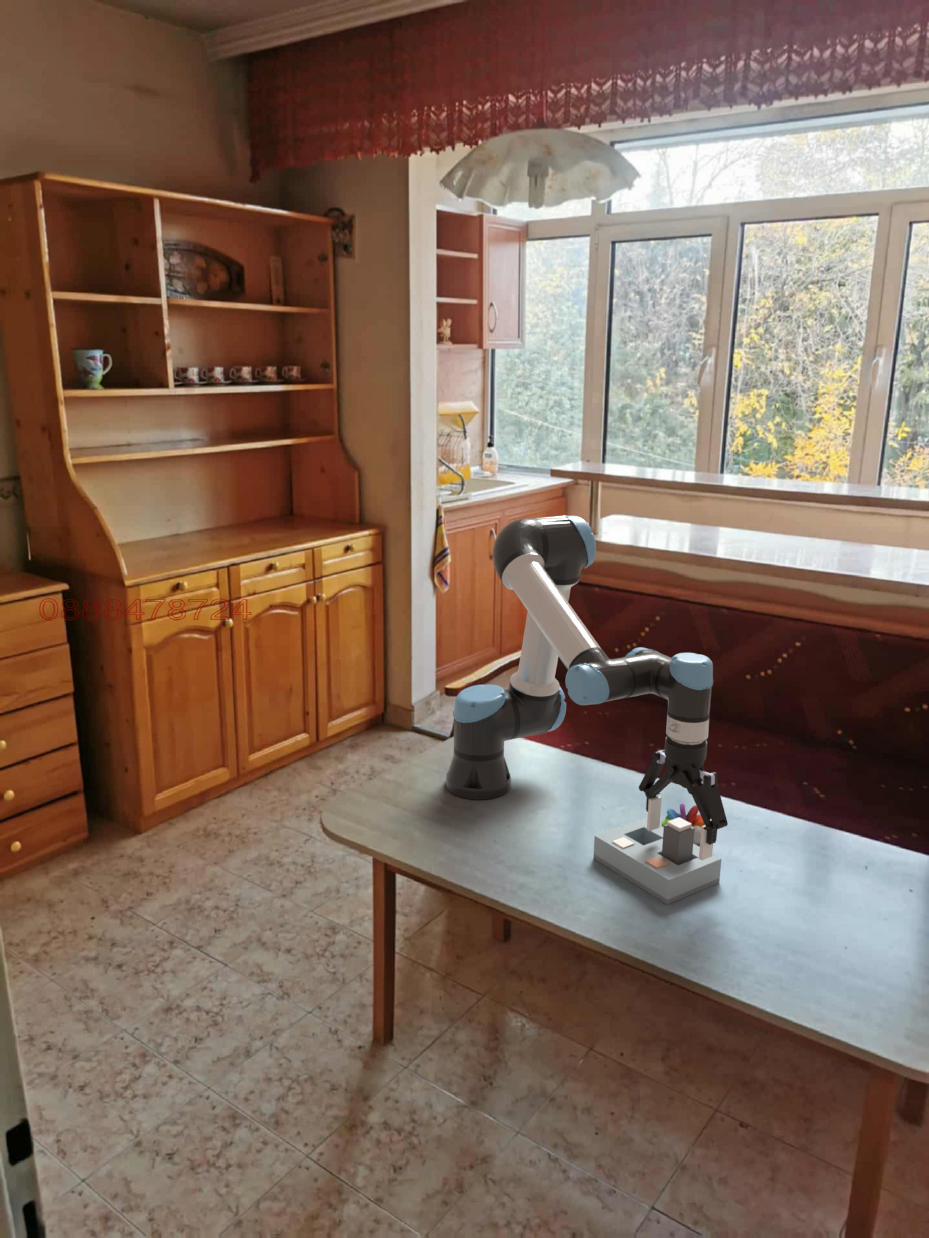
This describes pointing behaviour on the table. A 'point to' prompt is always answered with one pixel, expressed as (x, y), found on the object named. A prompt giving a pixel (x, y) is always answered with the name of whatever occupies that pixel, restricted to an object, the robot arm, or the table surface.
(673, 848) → the plug
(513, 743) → the table surface
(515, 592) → the robot arm
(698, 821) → the rainbow petal fan toy
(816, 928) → the table surface
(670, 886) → the socket box
